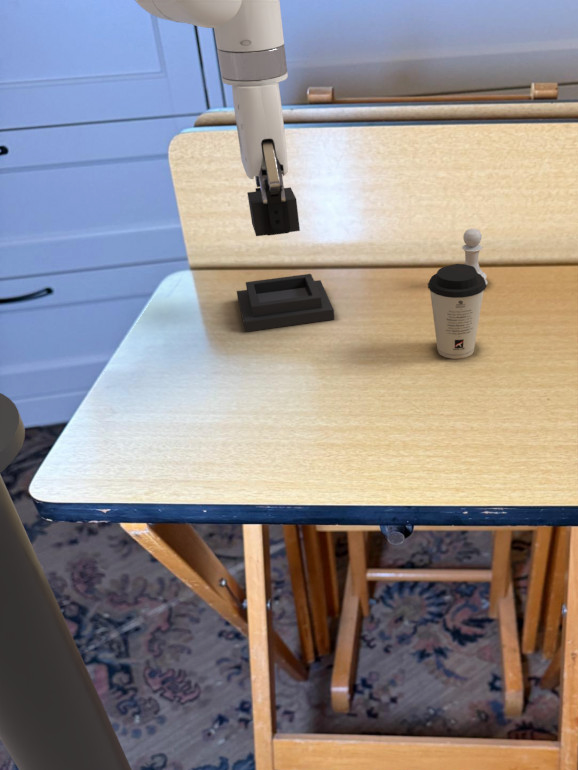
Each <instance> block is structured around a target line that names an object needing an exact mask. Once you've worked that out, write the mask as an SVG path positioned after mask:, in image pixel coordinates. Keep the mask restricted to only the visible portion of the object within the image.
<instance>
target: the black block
mask: <svg viewBox="0 0 578 770" xmlns="http://www.w3.org/2000/svg"><path fill="white" fill-rule="evenodd" d="M284 192H285V199H287V206H288V214H289V222H290V232H289V233H293V232H300V231H301V229H300V219H299V211H298V201H297V197H296V195H295V193H294V191H293V188H291V187H284ZM246 193H247V200H248V207H249V213H250V220H251V225H252V229H253V232H254V233H255V236H256V237H263V236H267V235H266V234H265V230H264V223H263V216H262V209H261V202H263V200H262V194H261V191H256V190H255V191H247V192H246Z"/></svg>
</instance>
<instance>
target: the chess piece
mask: <svg viewBox="0 0 578 770" xmlns="http://www.w3.org/2000/svg"><path fill="white" fill-rule="evenodd" d="M462 237H463V242H464V245H463V246H461V249H462V250H463V251H464V258H465V260H464V261H465V262H464V264H465V265H470V266H473V267H474V268H475V269H476V271H477V273H478V274H480V275H481V276H482V277H483V278H484V280H485V282H486V286H487V285H488V280H487V278H488V277H487V273H485V272H484V271H483V270H482V269H481V268H480V267H481V266H480V264H479V255H480V251H481V250H482V249H483V246H482V245H480V243H481V241H482V233H481V231H480V230H479V229H477V228H468V229H467V230H465V231H464V233H463V236H462Z"/></svg>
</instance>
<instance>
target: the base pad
mask: <svg viewBox="0 0 578 770" xmlns="http://www.w3.org/2000/svg"><path fill="white" fill-rule="evenodd" d="M245 287H246V288H245V289H242V290H237V291H236V297H237V301H238V306H239V310H240V315H241V319H242V322H243V327H244V330H245V332H246V333H249V332H255V331H262V330H263V331H264V330H270V329H276V328H284V327H291V326H298V325H304V324H312V323H321V322H327V321H333V320H335V310H334V307H333V305H332V302H331V300H330V298H329V296H328V293H327V292H326V288H325V287H324V285H323V283H322V280H320V279H318V280H314V278H313V275H312V274H311V273H306V274H299V275H298V274H297V275H290V276H283V277H275V278H267V279H259V280H252V281H245Z"/></svg>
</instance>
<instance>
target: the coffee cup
mask: <svg viewBox="0 0 578 770" xmlns="http://www.w3.org/2000/svg"><path fill="white" fill-rule="evenodd" d="M427 288H428V290H429V293H430V300H431V308H432V316H433V323H434V324H433V325H434V332H435V340H436V348H437V349H436V350H437V353H438V354H439V356H441V357H443V358H447V359H453V360H457V359H464V358H467V357H470V356H472V355H473V353H474V351H475V348H476V347H475V346H476V340H477V334H478V328H479V323H480V316H481V312H482V311H481V310H482V304H483V297H484V291H485V290H486V288H487V285H486V282H485V280H484V278H483V277H482V276H481V275H480V274H478V273H477V271H476V269H475V268H474V267H473V266H470V265H465V263H453V264H450V265H446V266H442V267H441V268H439V269H438V270H437V272H436V273H434V274H433V275H432V276H431V277H430V278H429V280H428V283H427Z"/></svg>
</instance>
